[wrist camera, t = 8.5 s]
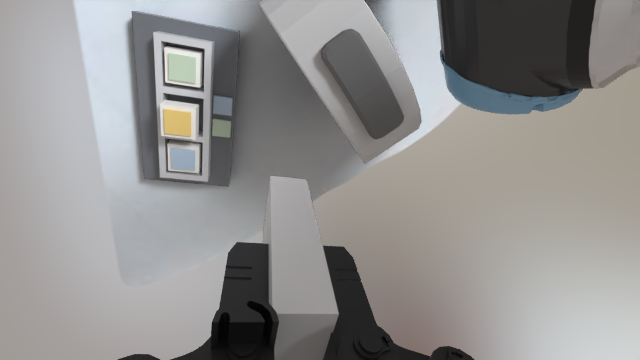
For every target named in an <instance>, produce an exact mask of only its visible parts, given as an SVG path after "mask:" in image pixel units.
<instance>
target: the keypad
mask: <svg viewBox="0 0 640 360" xmlns="http://www.w3.org/2000/svg"><path fill="white" fill-rule="evenodd" d="M132 21H133V35H134V49H135V63H136V76H137V90H138V104H139V118H140V132H141V145H142V159H143V173H144V179H151V180H162V181H173V182H184V183H196V184H207V185H218V186H229V182H230V172H231V157H232V142H233V127H234V111H235V96H236V81H237V66H238V51H239V36H240V31H235V30H230V29H225V28H220V27H215V26H210V25H205V24H200V23H195V22H190V21H184V20H179V19H174V18H169V17H164V16H159V15H154V14H149V13H144V12H139V11H132ZM167 46H173V47H178V48H184V49H190V50H195V51H201V52H204V58H203V85H202V86H201V87H200V88H199V87H192V86H186V85H179V84H173V83H166V82H165V55H164V47H167ZM164 100H170V101H177V102H184V103H191V104H198V105H199V135H198V136H197V138H196V140H192V139H184V138H175V137H167V136H161V119H160V103H161V102H163V101H164ZM171 139H176V140H185V141H193V142H202V160H201V169H200V172H199V173H190V172H180V171H169V170H168V147H167V143H168V142H169V141H170V140H171Z"/></svg>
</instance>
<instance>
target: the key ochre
mask: <svg viewBox="0 0 640 360" xmlns="http://www.w3.org/2000/svg"><path fill="white" fill-rule="evenodd" d="M160 119H161V136H167V137H175V138H184V139H192V140H196V138H197V136H198V135H199V105H198V104H191V103H184V102H177V101H170V100H164V101H163V102H161V103H160Z"/></svg>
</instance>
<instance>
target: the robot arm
mask: <svg viewBox="0 0 640 360" xmlns="http://www.w3.org/2000/svg"><path fill="white" fill-rule="evenodd" d="M437 9H438V19H439V29H440V38H441V48H442V49H441V51H440V58H441V62H442V64H443V66H444V71H445V78H446V84H447V88H448V90H449V91H450V92H451V93H452V95H453V96H454V98H455V99H456V100H458V101H459V102H461V103H462V104H464V105H466V106H468V107H471V108H474V109H477V110H481V111H486V112H491V113H499V114H529V113H530V112H531V111H532V110H538V111H542V112H544V111H549V110H552V109H556V108H559V107H561V106H563V105H565V104H568V103H570V102H571V101H572V100H574V99H575V98H576V97H577V96H578V94H579V93H580V92H581V91H582V89H583V88H596V89H597V88H604V87H605V86H607V85H608V84H610V83H611V82H613V81H614V80H616V79H617V78H619V77H620V76H621V75H623V74H625V73H626V72H628V71H630V70H632V69H635V68H637V67H640V0H437ZM118 360H160V359H158V358H156V357H154V356H151V355H149V354H134V355H131V356H127V357H124V358H121V359H118ZM171 360H474V359H473V358H472V357H471V356H469V355H468V354H466V353H464V352H463V351H461V350H460V349H456V348H453V347H450V346H445V347H439V348H438V349H436V350H435V351H433V353H432V355H431V357H430V356H427V355H424V354H421V353H417V352H414V351H411V350H408V349H405V348H402V347H400V346H398V345H396V344H394V343H393V341H392V339H391V338H390V336H389V335H388V334H387V333H386V332H385V331H384V330H383V329H382V328H380V327H379V326H377V324H376V322H375V319H374V316H373V313H372V310H371V308H370V305H369V302H368V299H367V296H366V293H365V290H364V288H363V285H362V282H361V279H360V276H359V274H358V272H357V268H356V265H355V262H354V259H353V257H352V256H351V255H350V254H349V252H348V251H347V250H346V249H345V248H344V247H336V246H323V245H322V241H321V237H320V233H319V228H318V224H317V220H316V216H315V212H314V207H313V203H312V199H311V195H310V191H309V186H308V182H307V179H298V178H288V177H278V176H270V182H269V189H268V197H267V204H266V212H265V220H264V227H263V244H260V243H243V242H237V243H236V244H235V245H234V247H233V248H232V249H231V250H230V252H229V253H228V259H227V265H226V271H225V276H224V282H223V289H222V295H221V301H220V307H219V310H218V311H217V312H216V314H215V316H214V319H213V321H212V330H211V337H210V338H209V339H208V340H207V341H206V342H205V343H204V344H203V345H202V346H201V347H199V348H198V349H196V350H195V351H193V352H190V353H188V354H186V355H183V356H180V357H177V358H174V359H171Z"/></svg>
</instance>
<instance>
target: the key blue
mask: <svg viewBox="0 0 640 360" xmlns="http://www.w3.org/2000/svg"><path fill="white" fill-rule="evenodd" d="M167 147H168V170H169V171H180V172H190V173H199V172H200V169H201V160H202V142H193V141H185V140H176V139H171V140H170V141H169V142H168V143H167Z"/></svg>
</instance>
